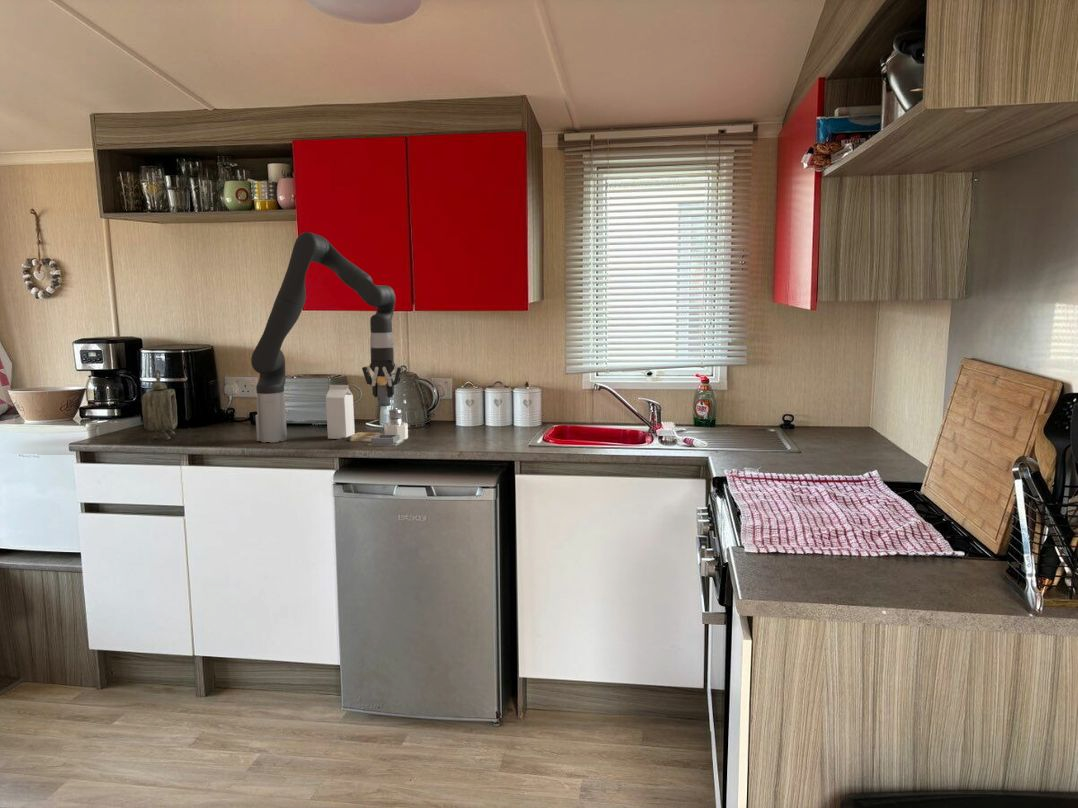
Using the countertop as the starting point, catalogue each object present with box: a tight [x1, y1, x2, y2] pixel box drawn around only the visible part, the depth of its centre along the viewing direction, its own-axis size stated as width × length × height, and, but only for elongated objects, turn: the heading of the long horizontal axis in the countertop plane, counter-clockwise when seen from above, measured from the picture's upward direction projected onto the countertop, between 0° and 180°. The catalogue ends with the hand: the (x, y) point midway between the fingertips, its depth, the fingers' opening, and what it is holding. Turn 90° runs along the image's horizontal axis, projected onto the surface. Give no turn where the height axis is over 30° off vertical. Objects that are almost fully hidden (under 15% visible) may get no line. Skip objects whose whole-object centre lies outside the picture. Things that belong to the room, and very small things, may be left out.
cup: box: [383, 421, 409, 441], centre depth 274 cm, size 7×7×6 cm
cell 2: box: [388, 407, 403, 426], centre depth 273 cm, size 4×4×11 cm
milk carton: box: [325, 384, 356, 440], centre depth 280 cm, size 7×7×19 cm
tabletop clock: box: [141, 369, 178, 440], centre depth 282 cm, size 14×9×25 cm, turn 16°
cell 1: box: [376, 376, 391, 407], centre depth 262 cm, size 4×4×11 cm
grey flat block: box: [366, 433, 405, 447], centre depth 265 cm, size 10×9×3 cm
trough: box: [349, 432, 383, 442], centre depth 272 cm, size 9×7×2 cm
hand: (383, 396), depth 262 cm, fingers closed on cell 1, 4 cm apart
